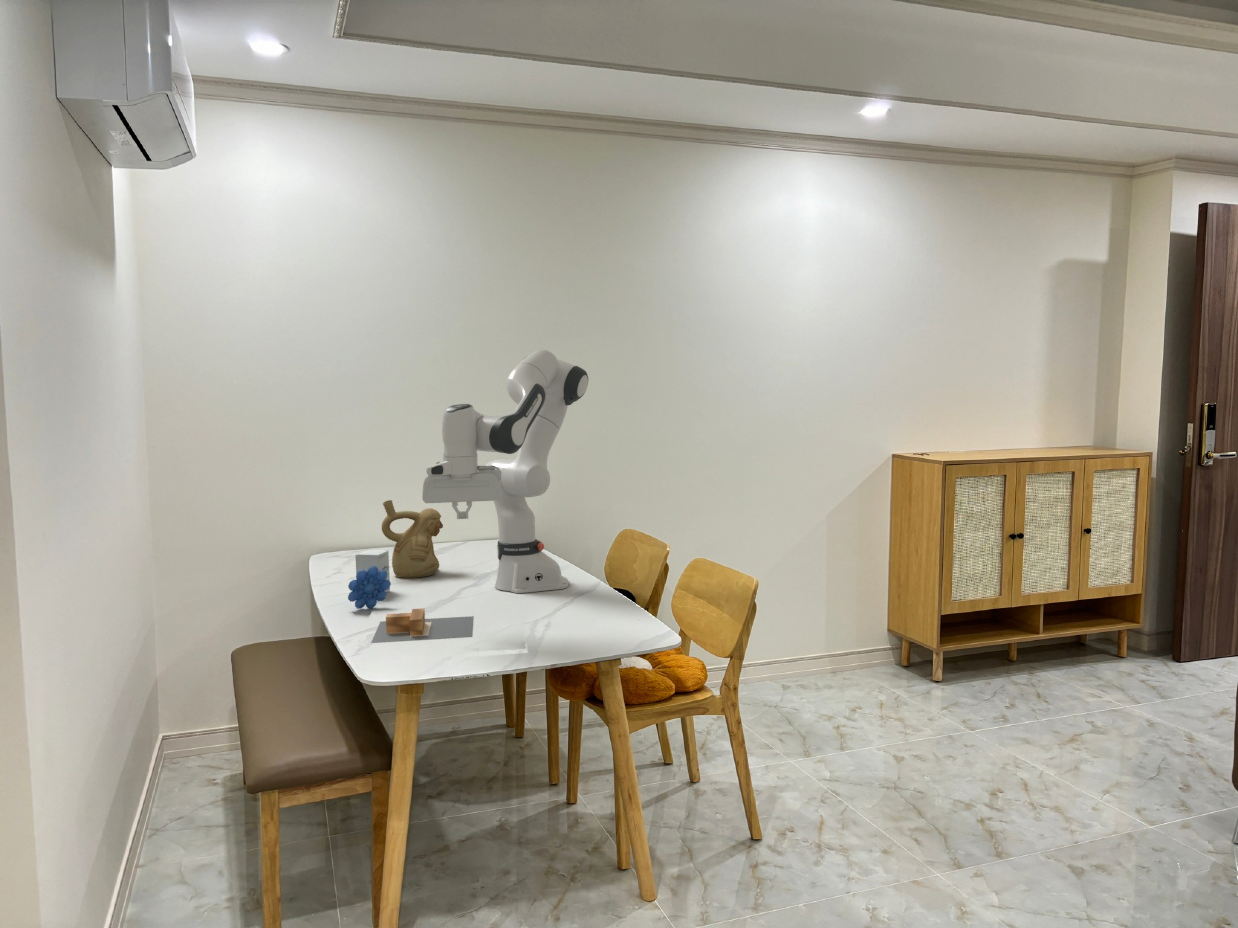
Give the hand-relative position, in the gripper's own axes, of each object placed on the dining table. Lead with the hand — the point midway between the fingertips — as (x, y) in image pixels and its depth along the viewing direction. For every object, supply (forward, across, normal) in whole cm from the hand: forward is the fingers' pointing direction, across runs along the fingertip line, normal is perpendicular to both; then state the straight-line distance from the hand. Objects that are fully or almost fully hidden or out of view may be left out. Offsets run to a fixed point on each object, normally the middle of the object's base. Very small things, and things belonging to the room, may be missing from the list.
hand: (462, 518), depth 225 cm
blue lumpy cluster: (+27, +27, -16) cm, 41 cm away
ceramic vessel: (+27, +18, -55) cm, 64 cm away
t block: (+26, +15, +11) cm, 32 cm away
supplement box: (+27, +28, -32) cm, 50 cm away
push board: (+27, +10, +11) cm, 31 cm away
